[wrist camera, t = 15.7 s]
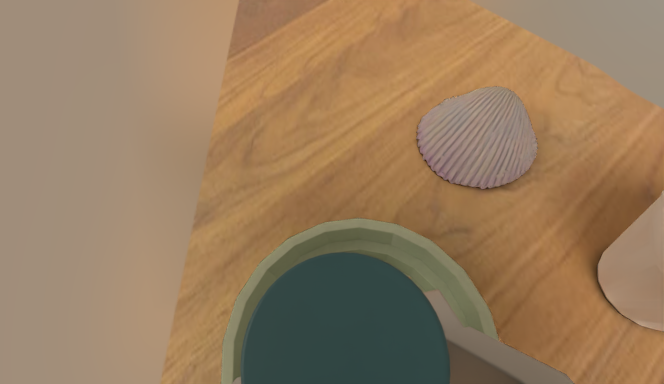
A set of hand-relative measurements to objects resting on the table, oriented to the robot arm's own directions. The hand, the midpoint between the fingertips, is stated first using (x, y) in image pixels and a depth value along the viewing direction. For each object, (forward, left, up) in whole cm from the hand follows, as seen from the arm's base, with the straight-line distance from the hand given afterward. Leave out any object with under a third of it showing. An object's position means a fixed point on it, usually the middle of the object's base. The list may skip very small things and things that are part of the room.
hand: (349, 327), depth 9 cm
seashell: (+13, +15, -16) cm, 26 cm away
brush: (0, -1, -8) cm, 8 cm away
